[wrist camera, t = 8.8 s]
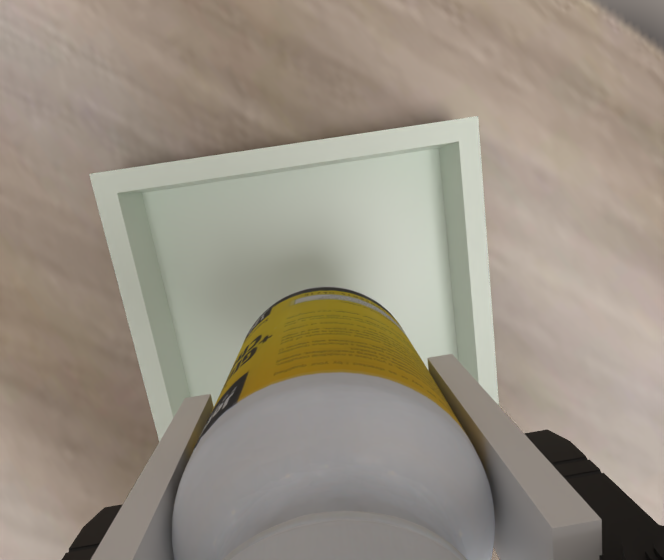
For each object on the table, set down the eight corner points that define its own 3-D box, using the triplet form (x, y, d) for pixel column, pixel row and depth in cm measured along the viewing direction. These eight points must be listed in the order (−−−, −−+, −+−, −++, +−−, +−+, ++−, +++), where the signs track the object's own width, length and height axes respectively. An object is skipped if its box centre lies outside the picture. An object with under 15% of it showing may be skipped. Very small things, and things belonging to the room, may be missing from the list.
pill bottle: (288, 251, 15) (211, 428, 4) (439, 328, 16) (721, 650, 5) (214, 397, 17) (-8, 853, 5) (358, 461, 17) (437, 975, 6)
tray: (195, 470, 26) (178, 513, 23) (122, 177, 23) (89, 173, 19) (476, 422, 27) (502, 456, 23) (451, 127, 23) (478, 116, 20)
